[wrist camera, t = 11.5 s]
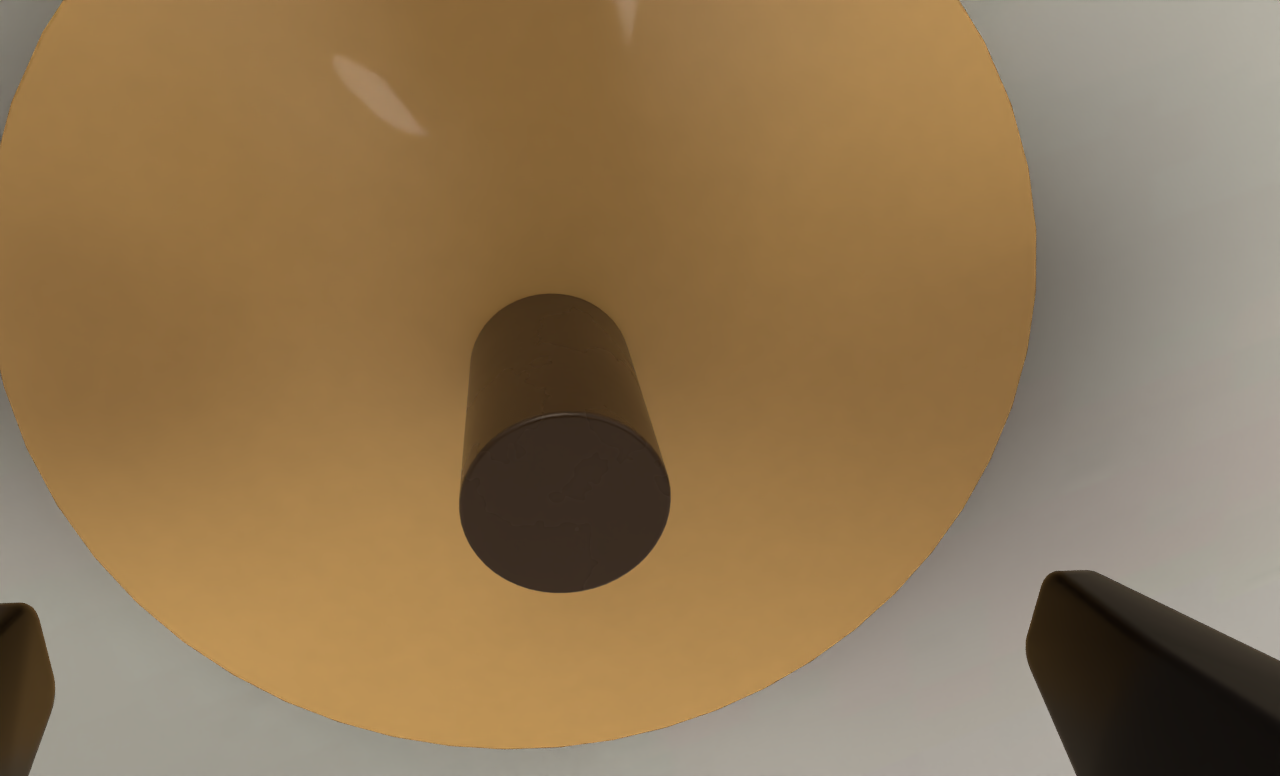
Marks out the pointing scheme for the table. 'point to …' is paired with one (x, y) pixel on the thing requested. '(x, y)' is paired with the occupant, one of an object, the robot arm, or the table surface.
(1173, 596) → the table surface
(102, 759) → the table surface
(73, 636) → the table surface
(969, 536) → the table surface
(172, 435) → the lid
